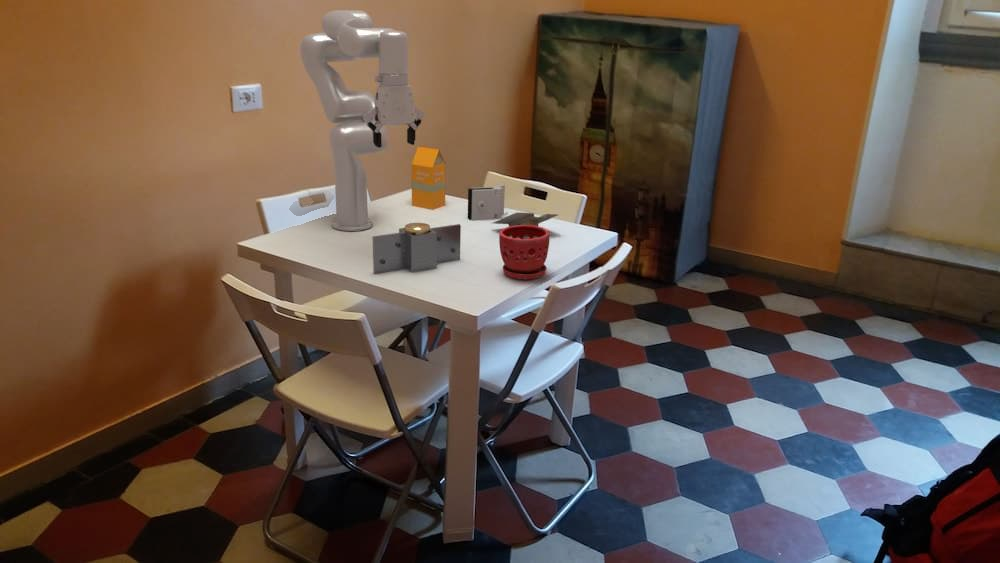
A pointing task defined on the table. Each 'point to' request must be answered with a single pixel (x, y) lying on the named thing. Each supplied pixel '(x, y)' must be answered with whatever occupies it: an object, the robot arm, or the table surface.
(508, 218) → the grey winged shape
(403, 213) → the table surface
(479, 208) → the hinge
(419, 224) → the pin
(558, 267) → the table surface
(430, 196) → the orange juice
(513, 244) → the plant pot
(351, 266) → the table surface
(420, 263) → the grey socket bracket
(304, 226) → the table surface
